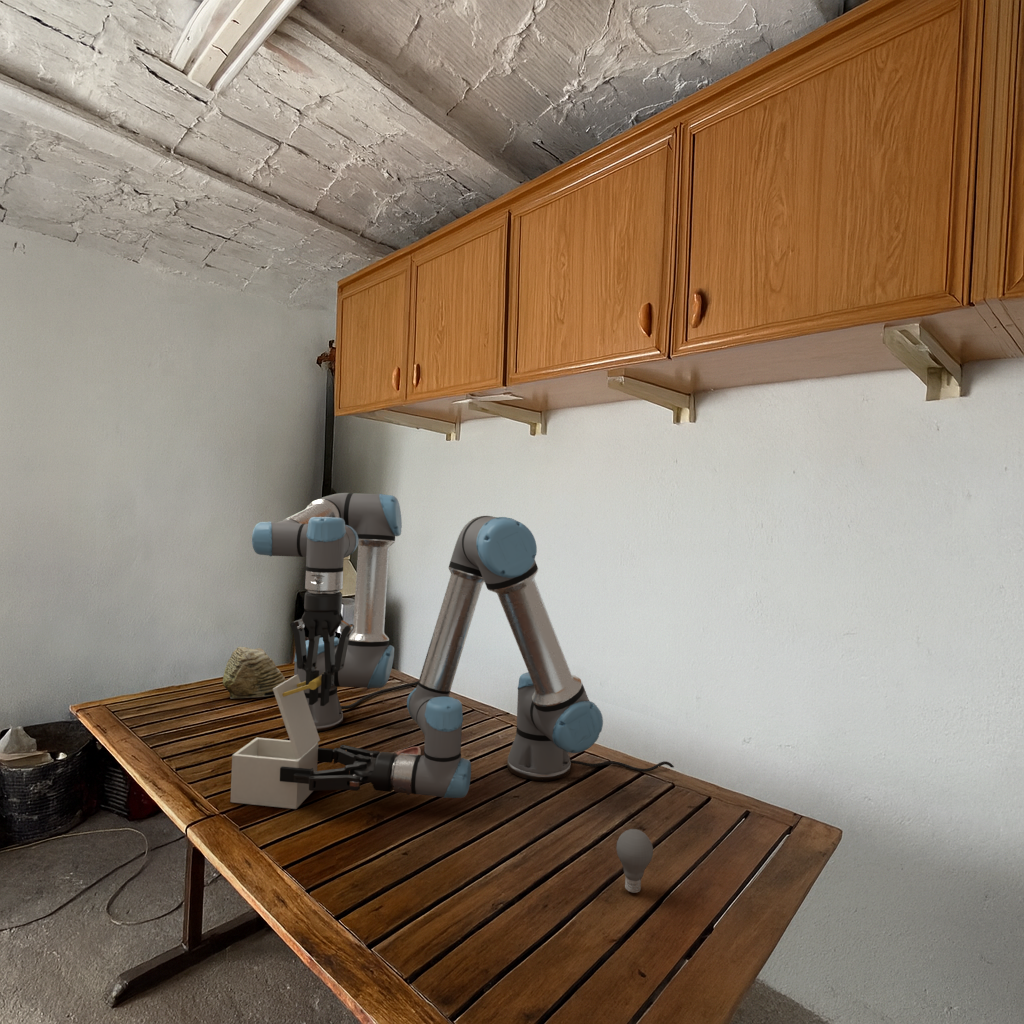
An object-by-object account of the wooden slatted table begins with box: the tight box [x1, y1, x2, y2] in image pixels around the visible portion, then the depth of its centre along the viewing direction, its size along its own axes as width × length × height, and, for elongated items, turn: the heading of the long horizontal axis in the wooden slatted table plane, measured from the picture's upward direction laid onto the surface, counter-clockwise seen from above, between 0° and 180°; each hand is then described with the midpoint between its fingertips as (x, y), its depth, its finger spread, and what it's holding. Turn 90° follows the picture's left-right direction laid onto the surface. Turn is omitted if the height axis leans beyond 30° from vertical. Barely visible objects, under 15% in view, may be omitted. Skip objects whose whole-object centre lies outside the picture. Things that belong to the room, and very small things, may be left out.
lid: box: [273, 674, 322, 759], centre depth 133 cm, size 15×10×9 cm
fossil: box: [222, 646, 286, 699], centre depth 198 cm, size 9×18×15 cm, turn 132°
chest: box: [229, 737, 319, 810], centre depth 134 cm, size 14×10×10 cm
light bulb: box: [615, 828, 654, 894], centre depth 106 cm, size 6×6×10 cm
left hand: (318, 703), depth 132 cm, fingers closed on lid, 2 cm apart
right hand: (292, 763), depth 133 cm, fingers closed on chest, 10 cm apart
